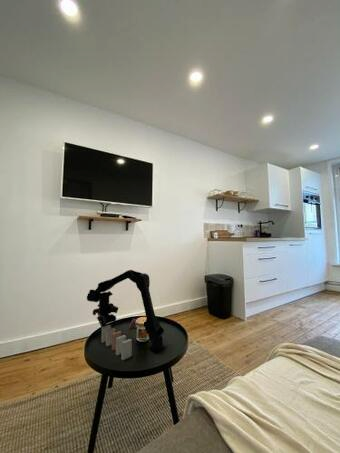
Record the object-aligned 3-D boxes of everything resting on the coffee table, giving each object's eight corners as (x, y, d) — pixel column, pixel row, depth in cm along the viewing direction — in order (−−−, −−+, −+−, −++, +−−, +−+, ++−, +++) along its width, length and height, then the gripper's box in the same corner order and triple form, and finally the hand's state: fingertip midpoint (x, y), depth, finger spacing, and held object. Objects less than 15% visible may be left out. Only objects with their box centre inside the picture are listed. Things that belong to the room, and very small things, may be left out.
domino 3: (121, 346, 111) (121, 331, 111) (113, 350, 107) (113, 334, 108) (119, 345, 112) (120, 330, 112) (111, 349, 108) (111, 333, 109)
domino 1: (110, 339, 118) (110, 325, 119) (102, 342, 115) (102, 328, 115) (109, 338, 119) (109, 324, 120) (101, 341, 116) (101, 327, 116)
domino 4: (125, 351, 106) (125, 336, 107) (117, 355, 103) (117, 339, 103) (124, 350, 107) (124, 334, 108) (115, 354, 104) (116, 337, 104)
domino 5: (131, 356, 102) (131, 340, 103) (122, 360, 99) (123, 343, 99) (129, 354, 103) (130, 338, 104) (121, 358, 100) (121, 342, 100)
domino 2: (115, 343, 114) (115, 328, 115) (107, 346, 111) (107, 331, 111) (113, 342, 115) (114, 327, 116) (105, 345, 112) (106, 330, 112)
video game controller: (144, 331, 132) (146, 319, 135) (142, 331, 128) (144, 319, 131) (130, 329, 134) (132, 318, 138) (127, 329, 131) (130, 317, 134)
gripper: (124, 303, 119) (124, 330, 119) (109, 296, 133) (109, 321, 132) (106, 308, 112) (106, 337, 111) (92, 300, 125) (92, 326, 124)
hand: (103, 329), depth 120 cm, fingers closed
